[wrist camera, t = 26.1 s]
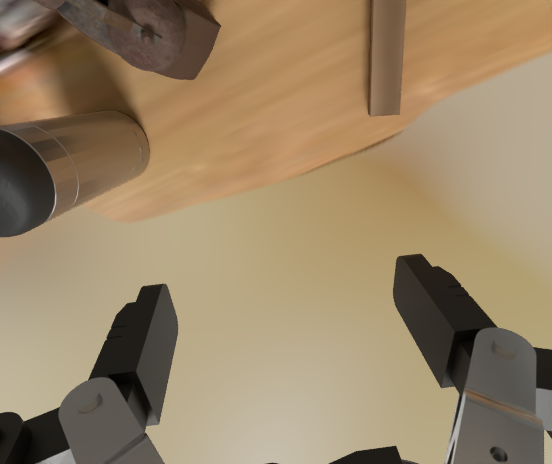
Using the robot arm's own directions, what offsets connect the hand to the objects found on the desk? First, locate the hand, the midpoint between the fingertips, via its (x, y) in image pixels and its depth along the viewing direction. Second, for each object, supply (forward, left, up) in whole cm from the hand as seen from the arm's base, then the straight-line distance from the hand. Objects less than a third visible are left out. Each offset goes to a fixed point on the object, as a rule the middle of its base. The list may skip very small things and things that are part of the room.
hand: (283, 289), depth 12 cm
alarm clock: (-16, +14, -33) cm, 40 cm away
